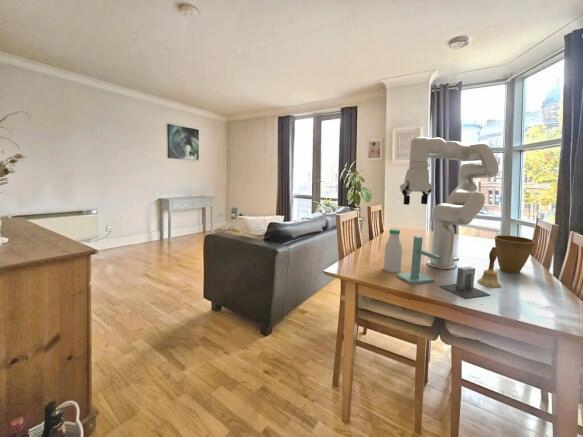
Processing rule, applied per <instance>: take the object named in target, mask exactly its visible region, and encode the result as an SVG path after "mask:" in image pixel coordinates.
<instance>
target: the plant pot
mask: <svg viewBox="0 0 583 437" xmlns="http://www.w3.org/2000/svg"><path fill="white" fill-rule="evenodd" d="M535 241H536V240H533V239H531V238H527V237H524V236H516V235H515V236H514V235H508V234H507V235H504V234H503V235H495V236H494V244H495V245H494V247H496V250H497V258H496V260H497V262H498V266H499V268H500V270H501V271H503V272H506V273H510V274H511V273H512V274H519V273H520V272H521V271H522V269H523V268H524V266H525V265H526V263H527V262H528V259H529V257H530V255H531V253H532V251H533V247H534V245H535Z"/></svg>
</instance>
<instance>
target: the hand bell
mask: <svg viewBox="0 0 583 437" xmlns="http://www.w3.org/2000/svg"><path fill="white" fill-rule="evenodd" d="M488 254H489V256H488V257H489V265H488V269H485V270H484V271H483V274H482V276H481V277H480V278H479V279H478V280H477V283H478V284H480V285H482V286H485V287H490V288H502V284H501V282H499V280H498V279H499V278H498V273H497V271H495V270H494V267H495V262H496V260H497V250H496V247H495V246H492V248H491V249H490V251H489V253H488Z"/></svg>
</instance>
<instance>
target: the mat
mask: <svg viewBox="0 0 583 437" xmlns="http://www.w3.org/2000/svg"><path fill="white" fill-rule="evenodd" d="M439 287H440V288H442V289H444V290H447V291H448V292H450V293H453V294H454V295H456V296H459V297H461V298H463V299H464V300H465V299H466V300H467V299H475V298H481V297H488V296H491V294H490V293H488V292H486V291H484V290H481V289H478V288H477V287H475V286H473V290H471V291H470V290H467V289H465V288H464V292H460V291H458V290H456V283H449V284H442V285H439Z"/></svg>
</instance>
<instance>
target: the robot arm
mask: <svg viewBox="0 0 583 437" xmlns="http://www.w3.org/2000/svg"><path fill="white" fill-rule="evenodd" d="M409 150H410V153H409V166H408V169H407V170H406V173H405V177H404V183H402V184H401V185H399V189H400V192H401V193H402V196H403V205H406V206H409V205H410V200H411V196H410V194H411V193H412V192H414V193H415V192H420V193H421V194H422V195H421V200H420V204H421V205H428V198H429V196H430V194H431V192H432V190H433V188H434V185H433V184H431V183H430V173H429V172H430V171H429V169H428V167H429V166H430V164H429V159H441V160H453V161H460V162H464V163H463V164H461V165H460V168H459V184H458V185H457V186H456V188H455V189H454V190H452V192H451V193H450V194H449V195H448V196H447V200H446V203H439V204H437V205H435V206H434V207H433V209H432V220H433V221H432V222H433V223H432V224H433V229H432V231H433V232H432V240H431V252H430V253H432V254H435V255H438V256H440V260H436V259H433V258H430V259H428V260H427V261H426V265H427V266H429V267H432V268H434V269H440V270H453V269H455V268H456V264H455V262H459V261H460V258H459V257H453V253H454V244H455V243H454V242H455V235H456V234H455V228H454V227H453V225H456V226H461V227H464V226H467V225H469V224H471V223H472V221H473V220H474V219H475V218H476V217H477V216H478V214H479V213H480V212H481V210H482V209H483V207H484V205H485V200H486V197H485V195H484V194H483V193H482V192H481V191H478V187H477V184H476V182H475V181H474V179H490V178H494V177H496V176H497V174H499V173H498V172H499V168H500V167H499V163H498V161H497V158H496V156H495V153H494V151H493V150H492V147H491V146H490V145H489V144H488V143H487V142H483V141H482V142H472V143H467V142H460V141H455V140H447V141H446V140H445V139H443V138H441V137H434V138H432V137H430V138H429V137H428V136H427V137H425V136H418V137H413V138H412V139H411V141H410V149H409Z"/></svg>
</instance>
